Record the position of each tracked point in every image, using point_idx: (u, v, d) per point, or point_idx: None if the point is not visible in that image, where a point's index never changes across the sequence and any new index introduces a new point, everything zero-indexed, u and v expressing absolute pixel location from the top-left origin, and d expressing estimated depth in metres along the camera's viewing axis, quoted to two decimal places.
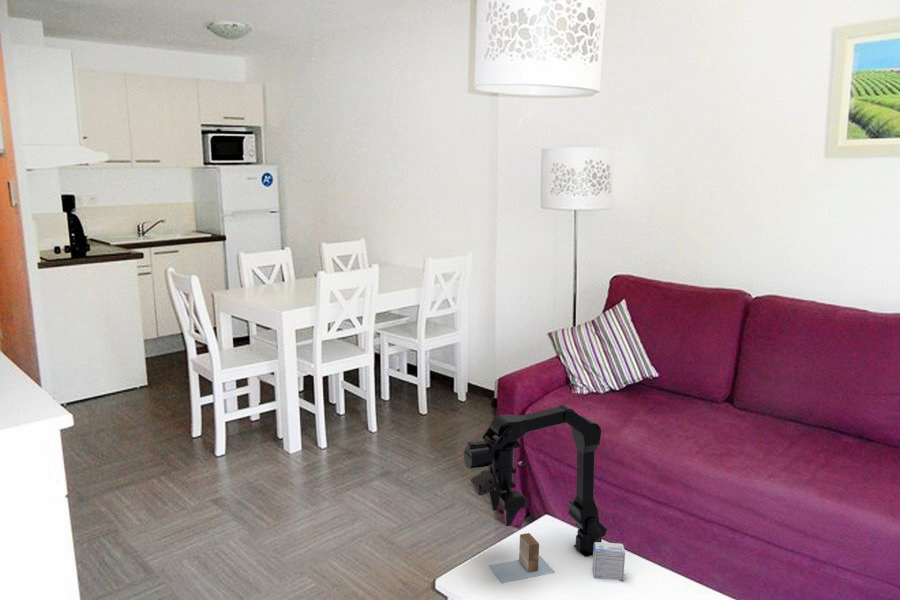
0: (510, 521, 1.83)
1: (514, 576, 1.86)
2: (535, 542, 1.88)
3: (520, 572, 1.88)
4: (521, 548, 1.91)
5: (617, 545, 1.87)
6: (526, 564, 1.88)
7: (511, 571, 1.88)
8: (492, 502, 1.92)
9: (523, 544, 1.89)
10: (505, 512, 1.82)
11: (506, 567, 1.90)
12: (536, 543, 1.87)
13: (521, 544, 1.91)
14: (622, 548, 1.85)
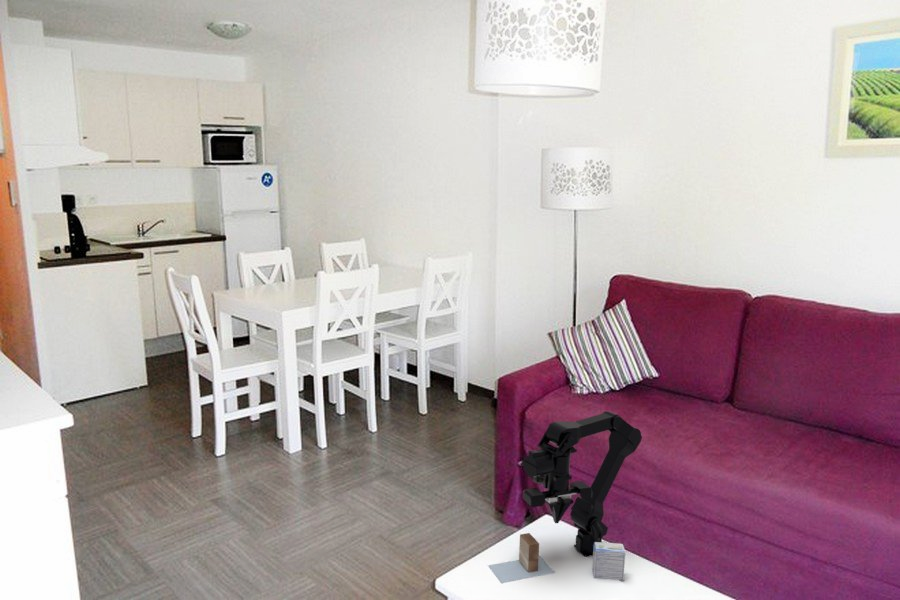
0: (554, 518, 1.91)
1: (514, 576, 1.86)
2: (535, 542, 1.88)
3: (520, 572, 1.88)
4: (521, 548, 1.91)
5: (617, 545, 1.87)
6: (526, 564, 1.88)
7: (511, 571, 1.88)
8: None
9: (523, 544, 1.89)
10: None
11: (506, 567, 1.90)
12: (536, 543, 1.87)
13: (521, 544, 1.91)
14: (622, 548, 1.85)
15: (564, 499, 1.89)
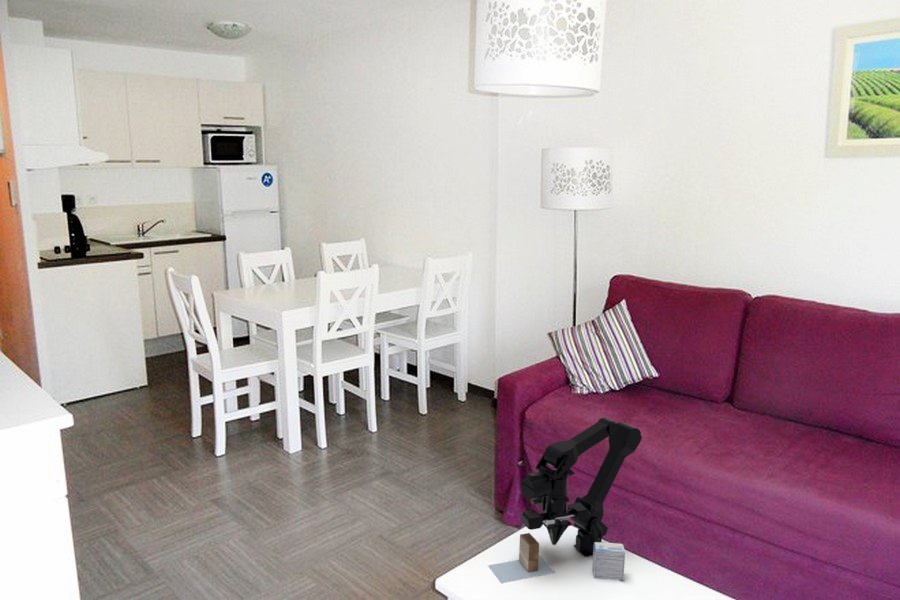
0: (552, 540, 1.92)
1: (514, 576, 1.86)
2: (535, 542, 1.88)
3: (520, 572, 1.88)
4: (521, 548, 1.91)
5: (617, 545, 1.87)
6: (526, 564, 1.88)
7: (511, 571, 1.88)
8: None
9: (523, 544, 1.89)
10: None
11: (506, 567, 1.90)
12: (536, 543, 1.87)
13: (521, 544, 1.91)
14: (622, 548, 1.85)
15: (562, 521, 1.90)
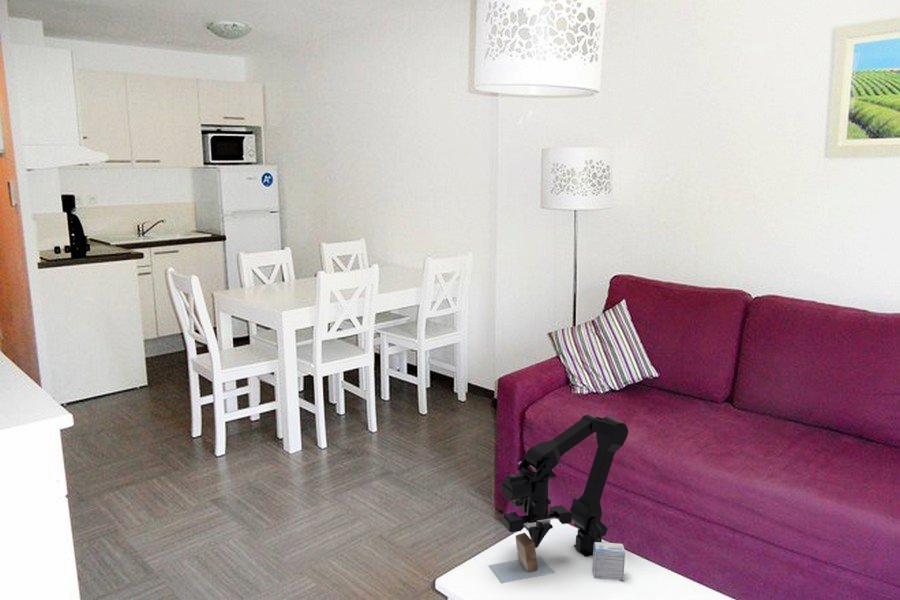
0: None
1: (514, 576, 1.86)
2: (530, 542, 1.87)
3: (520, 572, 1.88)
4: (519, 549, 1.90)
5: (617, 545, 1.87)
6: (525, 564, 1.88)
7: (511, 571, 1.88)
8: None
9: (520, 545, 1.89)
10: None
11: (506, 567, 1.90)
12: (531, 543, 1.87)
13: (518, 545, 1.90)
14: (622, 548, 1.85)
15: (543, 524, 1.88)
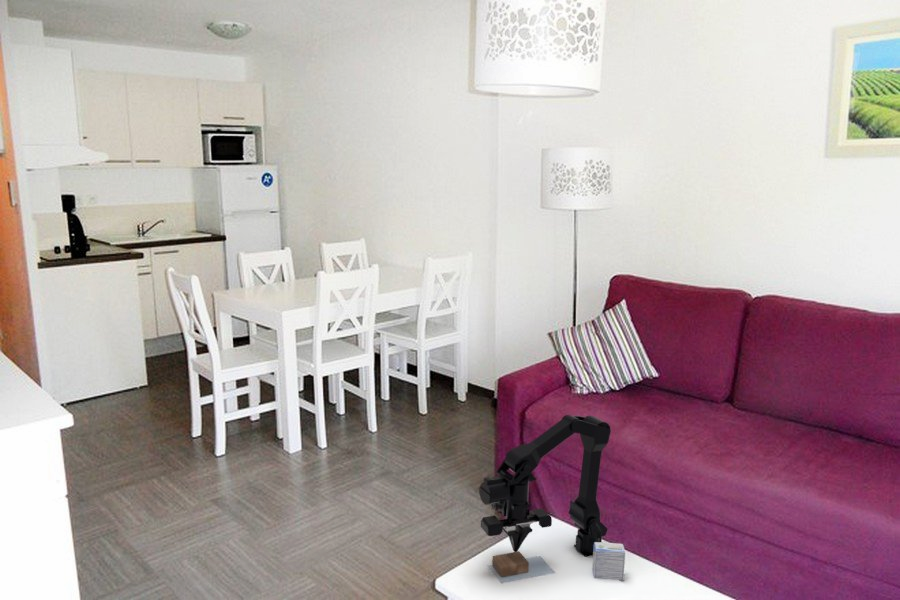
0: (513, 547, 1.88)
1: (514, 576, 1.86)
2: (500, 568, 1.85)
3: None
4: None
5: (617, 545, 1.87)
6: None
7: None
8: None
9: None
10: None
11: None
12: (501, 569, 1.85)
13: None
14: (622, 548, 1.85)
15: (523, 527, 1.86)
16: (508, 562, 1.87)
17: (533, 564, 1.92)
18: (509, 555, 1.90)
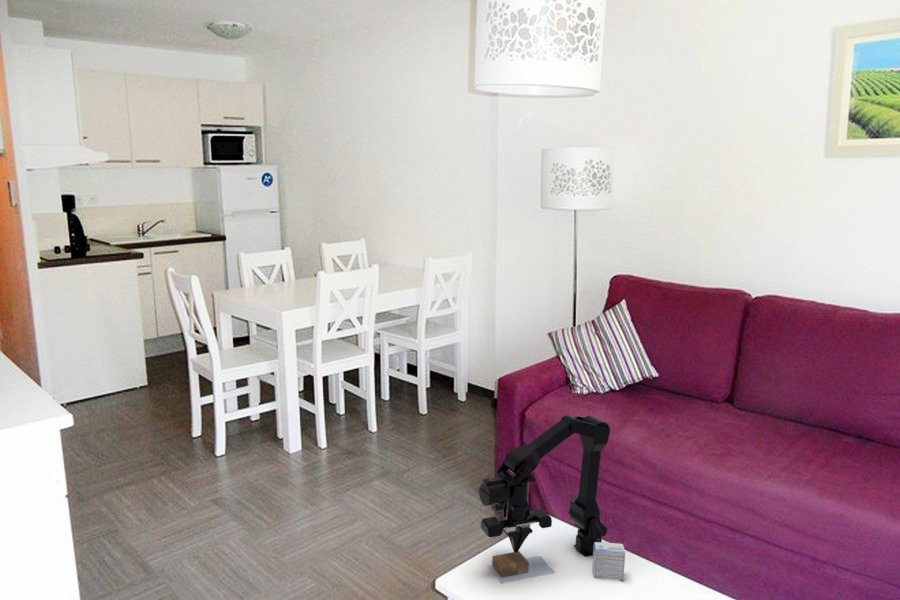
0: (513, 547, 1.88)
1: (514, 576, 1.86)
2: (500, 568, 1.85)
3: None
4: None
5: (617, 545, 1.87)
6: None
7: None
8: None
9: None
10: None
11: None
12: (501, 569, 1.85)
13: None
14: (622, 548, 1.85)
15: (523, 528, 1.86)
16: (508, 562, 1.87)
17: (533, 564, 1.92)
18: (509, 555, 1.90)
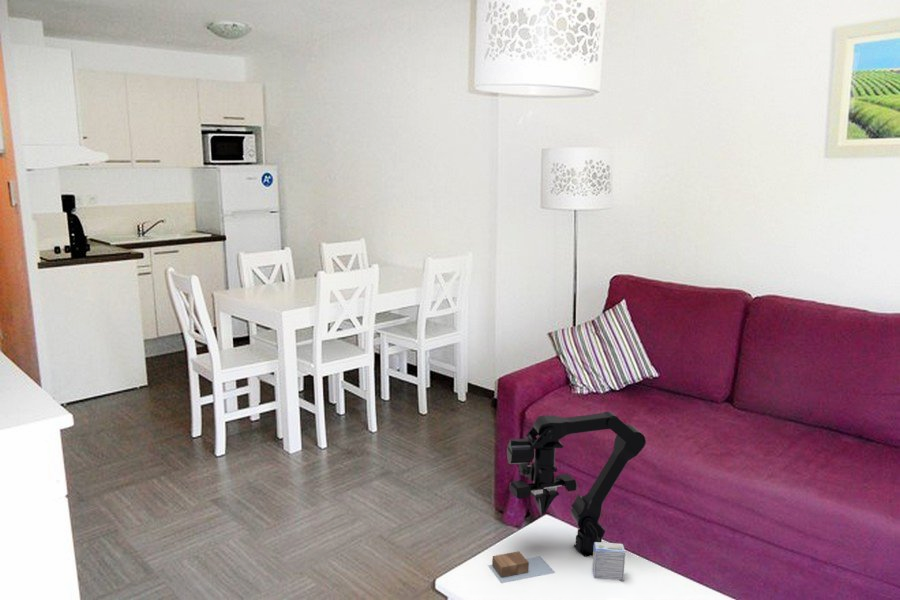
0: (540, 510, 1.95)
1: (514, 576, 1.86)
2: (500, 568, 1.85)
3: None
4: None
5: (617, 545, 1.87)
6: None
7: None
8: None
9: None
10: None
11: None
12: (501, 569, 1.85)
13: None
14: (622, 548, 1.85)
15: (549, 491, 1.94)
16: (508, 562, 1.87)
17: (533, 564, 1.92)
18: (509, 555, 1.90)
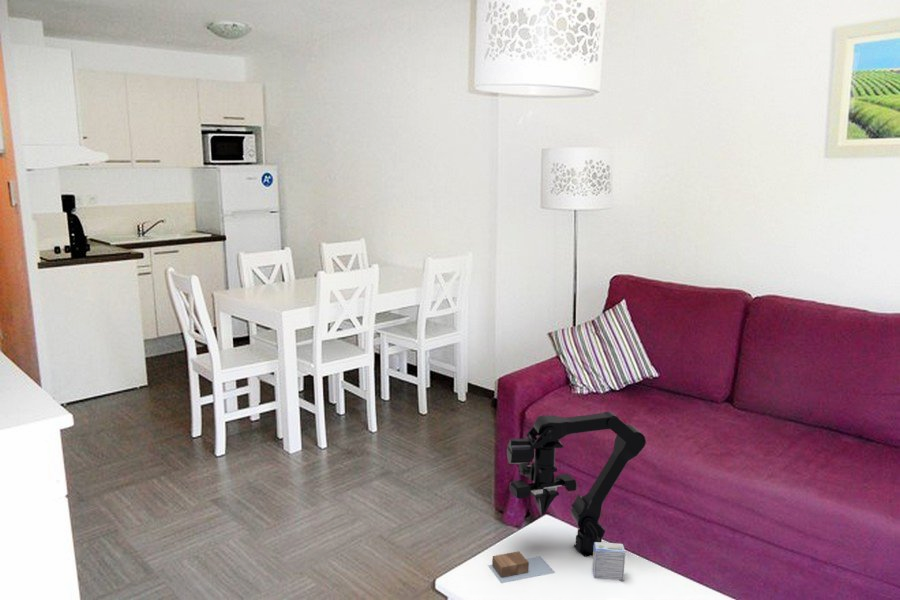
0: (540, 510, 1.95)
1: (514, 576, 1.86)
2: (500, 568, 1.85)
3: None
4: None
5: (617, 545, 1.87)
6: None
7: None
8: None
9: None
10: None
11: None
12: (501, 569, 1.85)
13: None
14: (622, 548, 1.85)
15: (549, 491, 1.94)
16: (508, 562, 1.87)
17: (533, 564, 1.92)
18: (509, 555, 1.90)
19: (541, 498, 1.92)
